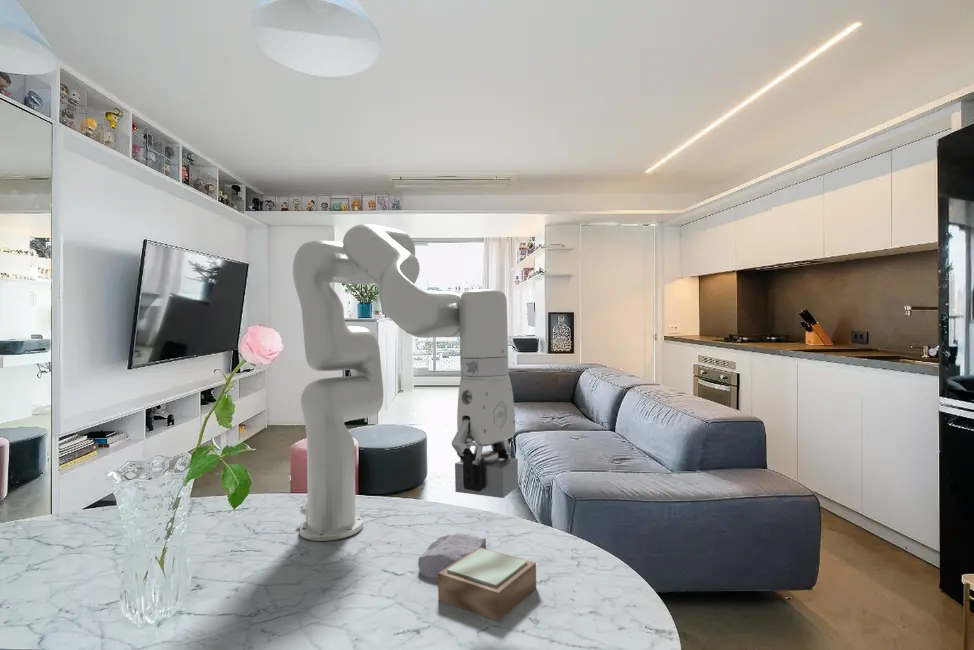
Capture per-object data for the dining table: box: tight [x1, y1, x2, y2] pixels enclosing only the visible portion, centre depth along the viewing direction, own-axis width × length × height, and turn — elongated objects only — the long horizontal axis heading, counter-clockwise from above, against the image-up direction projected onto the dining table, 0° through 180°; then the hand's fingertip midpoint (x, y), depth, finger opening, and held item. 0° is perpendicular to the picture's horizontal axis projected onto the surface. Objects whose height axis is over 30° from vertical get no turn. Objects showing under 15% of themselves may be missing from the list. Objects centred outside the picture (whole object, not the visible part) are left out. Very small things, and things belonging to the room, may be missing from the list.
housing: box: [454, 450, 519, 499], centre depth 79 cm, size 6×8×6 cm
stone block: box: [417, 533, 487, 579], centre depth 90 cm, size 12×5×10 cm
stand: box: [437, 547, 537, 622], centre depth 79 cm, size 11×11×4 cm
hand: (486, 482), depth 79 cm, fingers closed on housing, 6 cm apart
